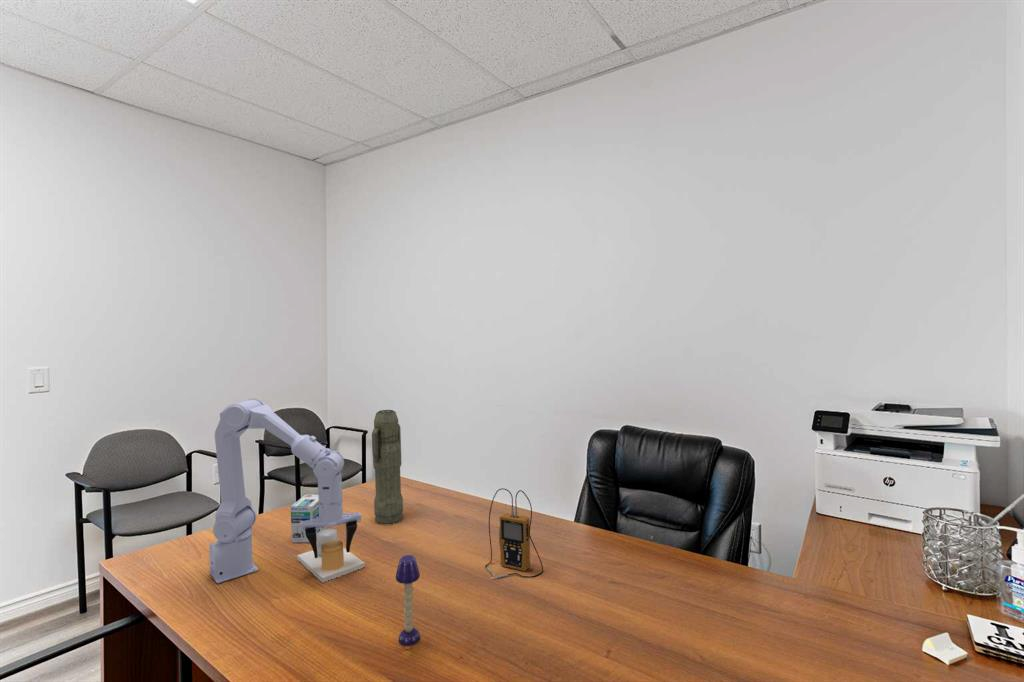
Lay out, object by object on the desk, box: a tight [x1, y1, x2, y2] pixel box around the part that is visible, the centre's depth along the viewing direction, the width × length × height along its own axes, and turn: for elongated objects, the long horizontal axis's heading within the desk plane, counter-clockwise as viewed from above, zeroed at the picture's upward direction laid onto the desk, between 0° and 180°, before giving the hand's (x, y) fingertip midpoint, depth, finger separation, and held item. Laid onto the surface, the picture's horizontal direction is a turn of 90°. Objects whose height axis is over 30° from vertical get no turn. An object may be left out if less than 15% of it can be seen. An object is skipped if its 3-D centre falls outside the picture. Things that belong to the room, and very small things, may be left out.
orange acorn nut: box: [321, 539, 344, 571], centre depth 130 cm, size 5×5×6 cm
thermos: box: [371, 409, 404, 525], centre depth 163 cm, size 9×12×35 cm
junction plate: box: [296, 528, 366, 583], centre depth 134 cm, size 11×17×7 cm, turn 42°
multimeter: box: [485, 487, 544, 580], centre depth 126 cm, size 15×10×20 cm
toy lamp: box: [395, 554, 421, 647], centre depth 101 cm, size 5×5×17 cm
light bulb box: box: [289, 494, 328, 543], centre depth 152 cm, size 11×7×11 cm, turn 179°
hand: (332, 553), depth 130 cm, fingers open, 7 cm apart
